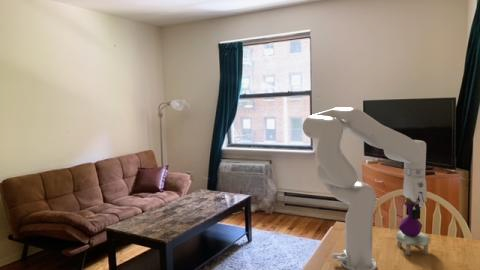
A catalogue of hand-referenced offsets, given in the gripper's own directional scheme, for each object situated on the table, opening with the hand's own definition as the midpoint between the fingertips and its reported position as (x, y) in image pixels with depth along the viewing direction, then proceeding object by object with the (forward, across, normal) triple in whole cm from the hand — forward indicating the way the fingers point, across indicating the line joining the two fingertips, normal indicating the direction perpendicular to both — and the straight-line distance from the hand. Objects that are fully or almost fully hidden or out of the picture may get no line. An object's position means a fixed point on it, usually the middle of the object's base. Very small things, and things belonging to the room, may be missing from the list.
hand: (413, 216), depth 136 cm
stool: (+14, 0, 0) cm, 14 cm away
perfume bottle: (+8, +2, 0) cm, 8 cm away
